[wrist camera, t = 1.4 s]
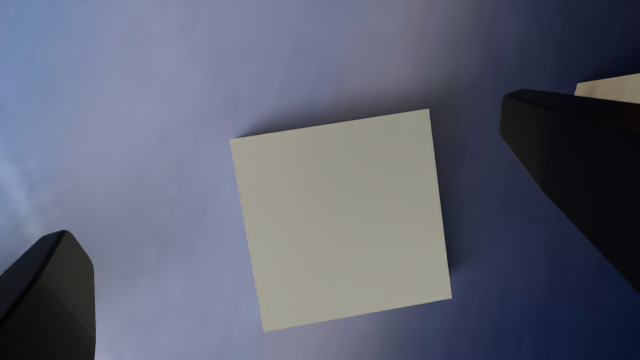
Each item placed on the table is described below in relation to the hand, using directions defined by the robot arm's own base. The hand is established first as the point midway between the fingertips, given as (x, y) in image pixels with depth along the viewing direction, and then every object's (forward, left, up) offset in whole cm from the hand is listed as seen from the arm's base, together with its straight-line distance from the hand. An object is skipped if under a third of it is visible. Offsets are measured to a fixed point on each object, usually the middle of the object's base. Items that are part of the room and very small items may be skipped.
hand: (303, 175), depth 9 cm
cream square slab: (-4, -2, -16) cm, 16 cm away
